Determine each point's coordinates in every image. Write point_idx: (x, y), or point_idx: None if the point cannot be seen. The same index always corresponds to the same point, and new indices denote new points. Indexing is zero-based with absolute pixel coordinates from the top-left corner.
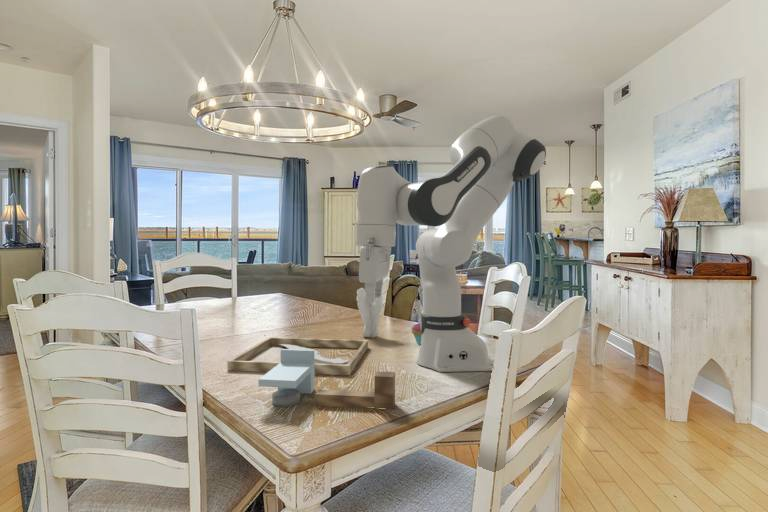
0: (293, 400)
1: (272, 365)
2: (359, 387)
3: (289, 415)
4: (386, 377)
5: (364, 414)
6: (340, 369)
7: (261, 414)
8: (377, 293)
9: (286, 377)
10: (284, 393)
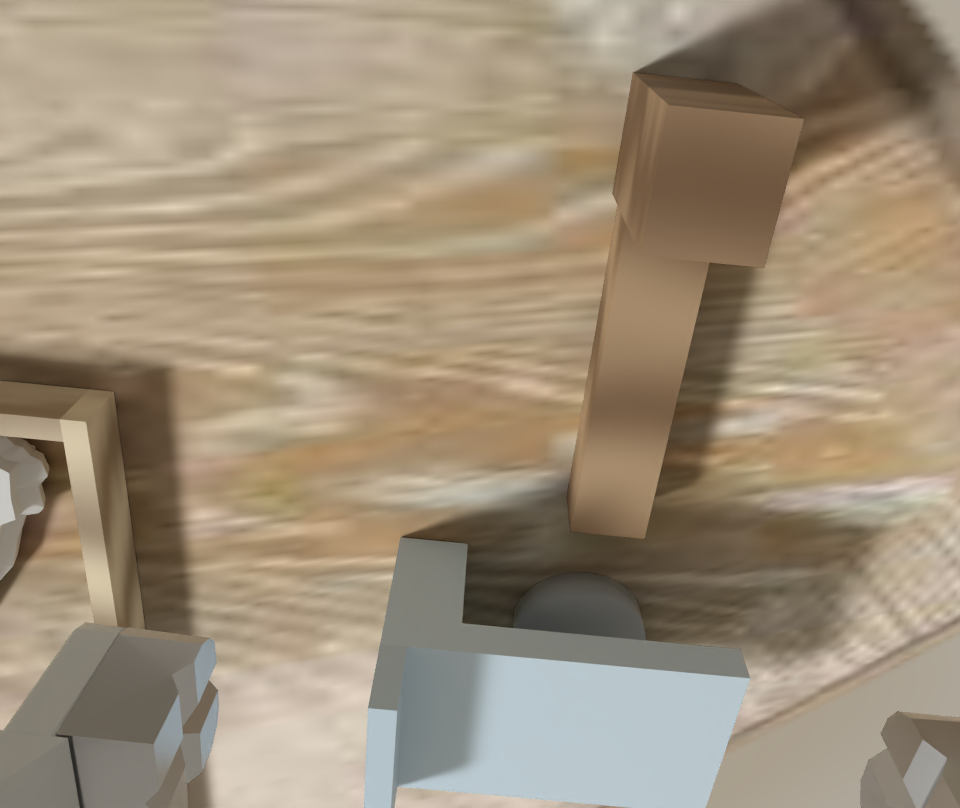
0: (627, 603)
1: None
2: (339, 314)
3: (751, 581)
4: (786, 173)
5: (787, 255)
6: (105, 460)
7: None
8: (176, 736)
9: (685, 721)
10: None
